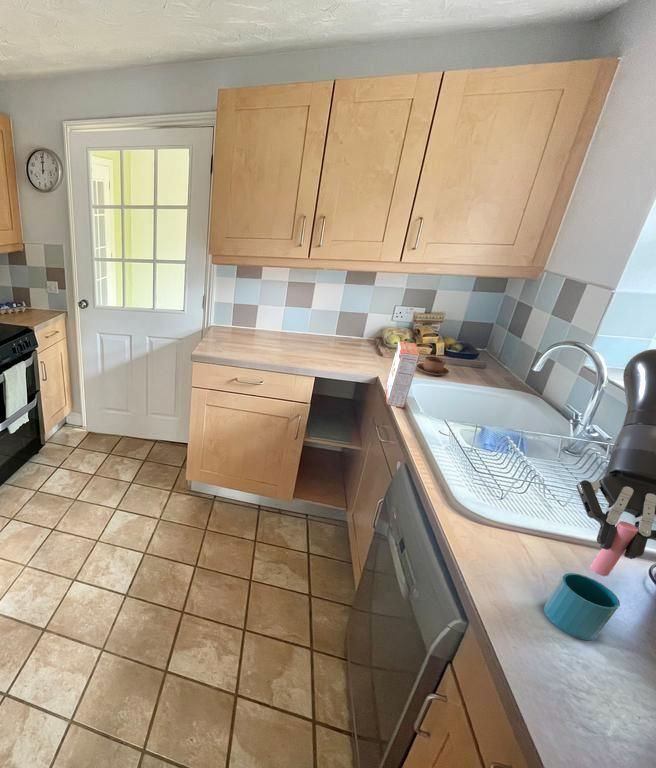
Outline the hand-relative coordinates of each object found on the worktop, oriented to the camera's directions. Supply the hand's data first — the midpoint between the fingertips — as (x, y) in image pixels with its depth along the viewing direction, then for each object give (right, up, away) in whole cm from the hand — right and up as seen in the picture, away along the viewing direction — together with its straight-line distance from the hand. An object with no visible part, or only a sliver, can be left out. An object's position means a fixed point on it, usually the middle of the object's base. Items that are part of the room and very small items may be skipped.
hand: (617, 552), depth 66 cm
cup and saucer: (+50, +32, +115) cm, 130 cm away
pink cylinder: (+1, -5, +4) cm, 6 cm away
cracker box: (+18, +21, +90) cm, 94 cm away
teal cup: (+1, -16, +8) cm, 18 cm away
